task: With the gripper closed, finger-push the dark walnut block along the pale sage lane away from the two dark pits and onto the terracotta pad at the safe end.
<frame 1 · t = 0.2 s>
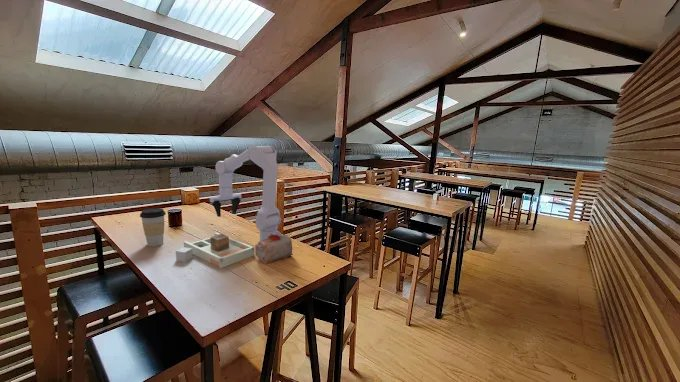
hand: (226, 214, 140), 10 cm above the table, tool pointing down, fingers open, 7 cm apart
walnut block: (220, 248, 121), point 2 cm above the table, touching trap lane
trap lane: (218, 252, 122), on the table
food item: (274, 258, 119), on the table
grey block: (184, 259, 114), on the table
coffee cup: (155, 244, 128), on the table
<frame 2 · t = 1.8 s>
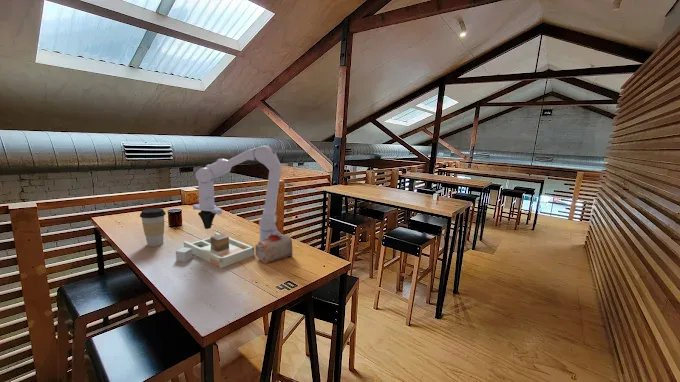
hand: (208, 228, 124), 9 cm above the table, tool pointing down, fingers closed
nothing on the table moved.
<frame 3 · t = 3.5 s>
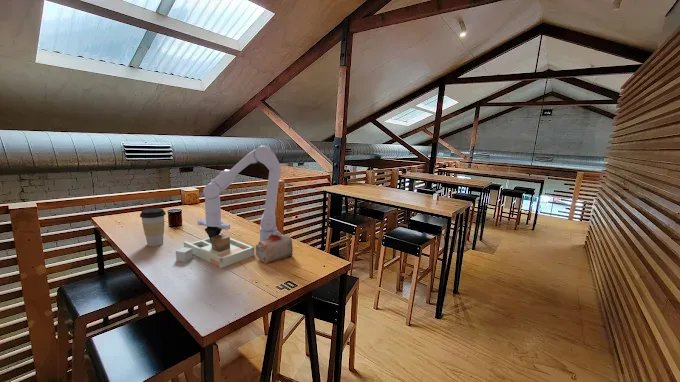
hand: (214, 243, 123), 3 cm above the table, tool pointing down, fingers closed
walnut block: (221, 248, 121), point 2 cm above the table, touching gripper
everything else where it was.
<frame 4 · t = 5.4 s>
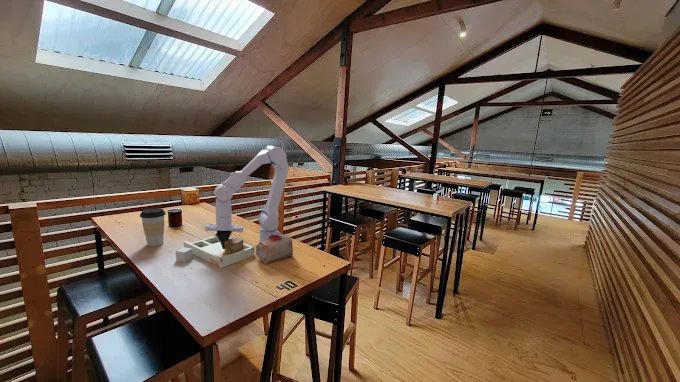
hand: (224, 248, 119), 3 cm above the table, tool pointing down, fingers closed
walnut block: (234, 252, 118), point 2 cm above the table, touching gripper, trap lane
everything else where it was.
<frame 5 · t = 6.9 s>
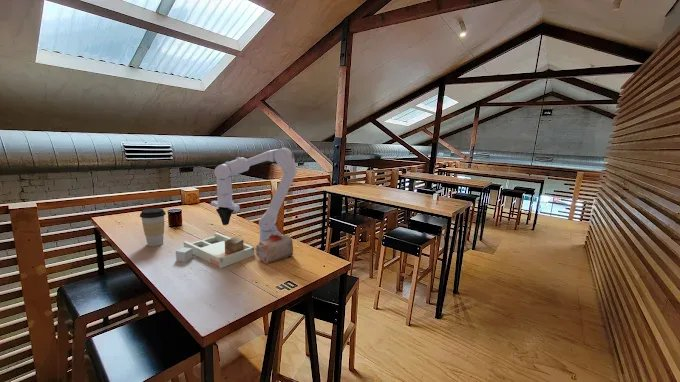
hand: (225, 224, 125), 10 cm above the table, tool pointing down, fingers closed
walnut block: (234, 252, 118), point 2 cm above the table, touching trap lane
everything else where it was.
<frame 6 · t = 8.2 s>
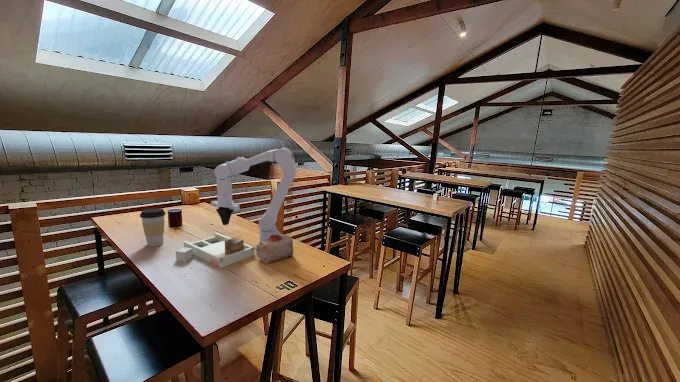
hand: (225, 224, 125), 10 cm above the table, tool pointing down, fingers closed
nothing on the table moved.
at the end: walnut block inside the target area on the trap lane (1.4 cm from its centre), point 2.0 cm above the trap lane's base; walnut block tilted 0° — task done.
